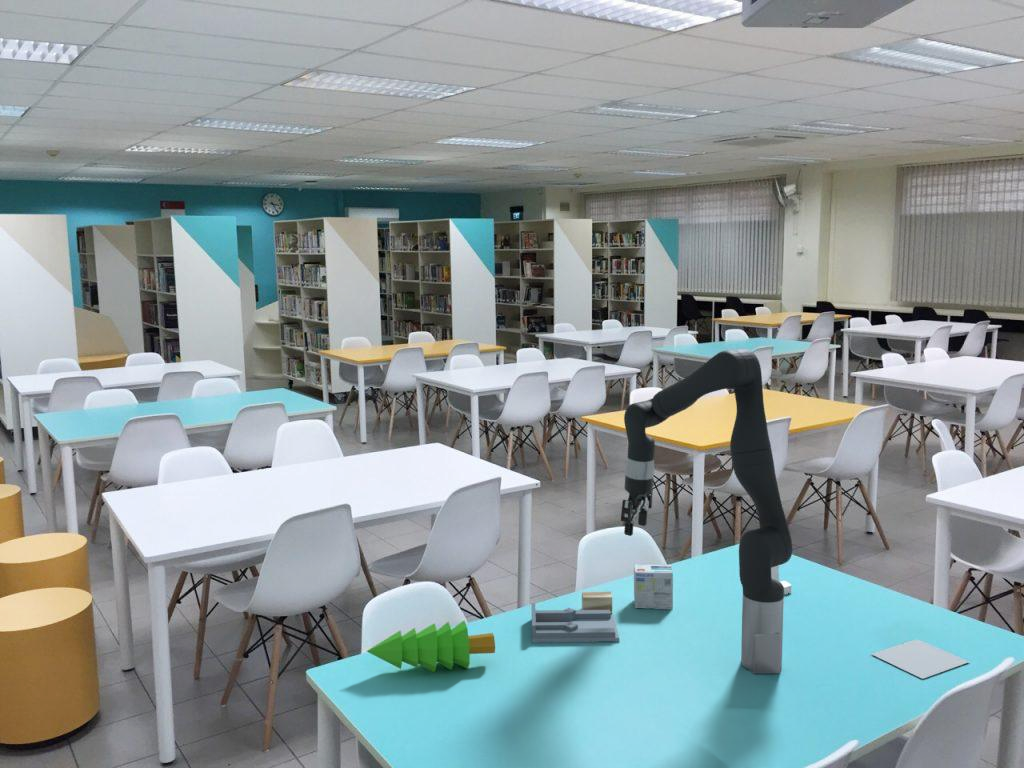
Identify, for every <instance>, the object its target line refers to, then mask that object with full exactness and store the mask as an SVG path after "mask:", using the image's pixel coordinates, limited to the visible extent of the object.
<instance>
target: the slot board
mask: <svg viewBox="0 0 1024 768" xmlns="http://www.w3.org/2000/svg"><path fill="white" fill-rule="evenodd" d="M531 636H532V637H531V640H532V641H531V642H532V643H599V642H598V641H617V642H618V643H619V642H620V635H619V631H618V627H617V624H616V620H615V616H614V614H611V613H610V610H582V609H573V608H571V607H567V608H565V609H560V610H559V609H558V610H556V609H555V610H552V609H549V610H547V609H546V610H544V609H543V610H542V609H541V610H538V609H537V610H536V603H534V602H533V603H531ZM590 641H591V642H590ZM594 641H595V642H594ZM617 642H616V643H617Z"/></svg>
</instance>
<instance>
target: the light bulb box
mask: <svg viewBox="0 0 1024 768" xmlns="http://www.w3.org/2000/svg"><path fill="white" fill-rule="evenodd" d="M673 575H674V574H673V569H672V565H671V564H634V563H633V596H634V597H633V599H634V601H633V603H634V609H635V608H655V609H654V610H673V609H674V591H673V590H674V576H673Z"/></svg>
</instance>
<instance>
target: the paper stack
mask: <svg viewBox="0 0 1024 768" xmlns="http://www.w3.org/2000/svg"><path fill="white" fill-rule="evenodd" d="M871 656H874V657H876V658H878V659H880V660H881V661H885V662H886V663H889V664H891V665H892V666H894V667H897V668H899V669H901V670H903V671H905V672H907V673H909V674H911V675H914V676H916V677H917V678H920V679H926V678H929V677H932V676H935V675H937V674H940V673H942V672H946V671H948V670H952V669H954V668H957V667H959V666H963V665H965V664H968V663H970V661H968V660H966V659H964V658H961V657H959V656H957V655H954V654H953V653H950V652H948V651H946V650H943V649H941V648H938V647H936V646H934V645H933V644H929V643H927V642H925V641H922V640H920V639H918V638H916V639H913V640H910V641H907V642H904V643H900V644H897V645H894V646H891V647H889V648H886V649H882V650H880V651H877V652H874V653H873V652H872V653H871Z"/></svg>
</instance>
